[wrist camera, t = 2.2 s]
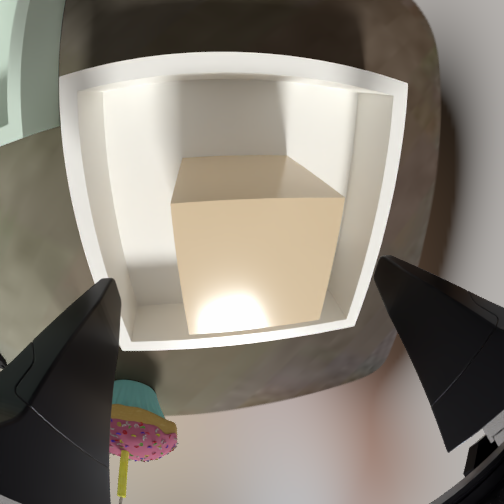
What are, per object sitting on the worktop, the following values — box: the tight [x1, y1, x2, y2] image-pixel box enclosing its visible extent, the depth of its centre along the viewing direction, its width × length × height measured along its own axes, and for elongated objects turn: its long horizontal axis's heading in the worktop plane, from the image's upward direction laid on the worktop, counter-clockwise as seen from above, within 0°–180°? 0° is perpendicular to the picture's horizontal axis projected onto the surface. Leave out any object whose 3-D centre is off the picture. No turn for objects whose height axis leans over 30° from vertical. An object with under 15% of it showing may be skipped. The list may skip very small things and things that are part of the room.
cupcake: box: [109, 380, 178, 504], centre depth 17 cm, size 9×8×12 cm
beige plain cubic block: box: [170, 155, 345, 335], centre depth 11 cm, size 5×5×6 cm
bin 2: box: [59, 52, 408, 351], centre depth 13 cm, size 14×14×4 cm
